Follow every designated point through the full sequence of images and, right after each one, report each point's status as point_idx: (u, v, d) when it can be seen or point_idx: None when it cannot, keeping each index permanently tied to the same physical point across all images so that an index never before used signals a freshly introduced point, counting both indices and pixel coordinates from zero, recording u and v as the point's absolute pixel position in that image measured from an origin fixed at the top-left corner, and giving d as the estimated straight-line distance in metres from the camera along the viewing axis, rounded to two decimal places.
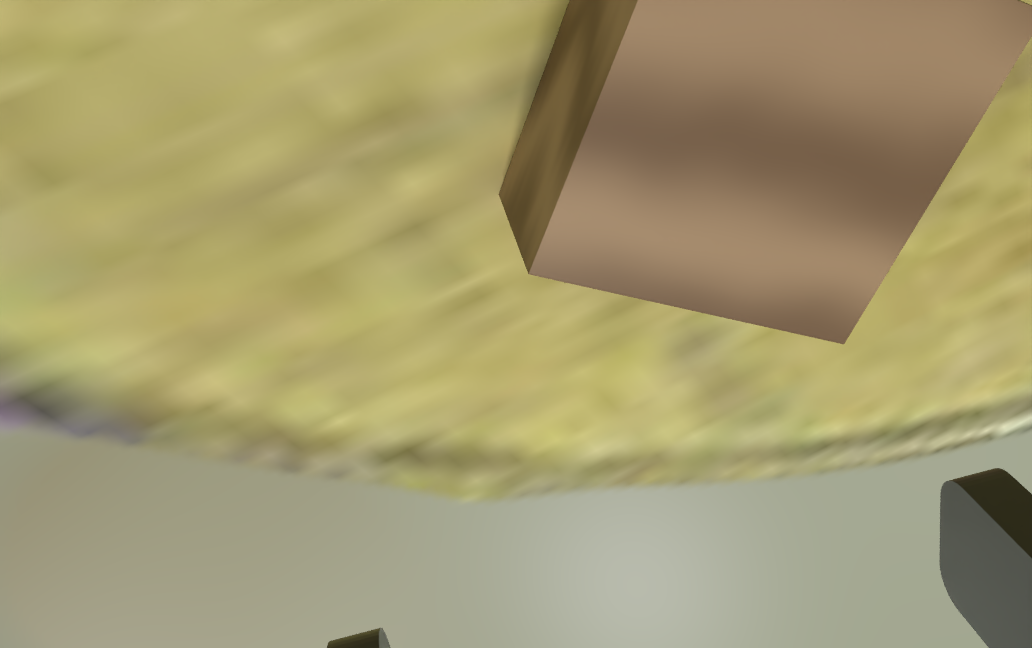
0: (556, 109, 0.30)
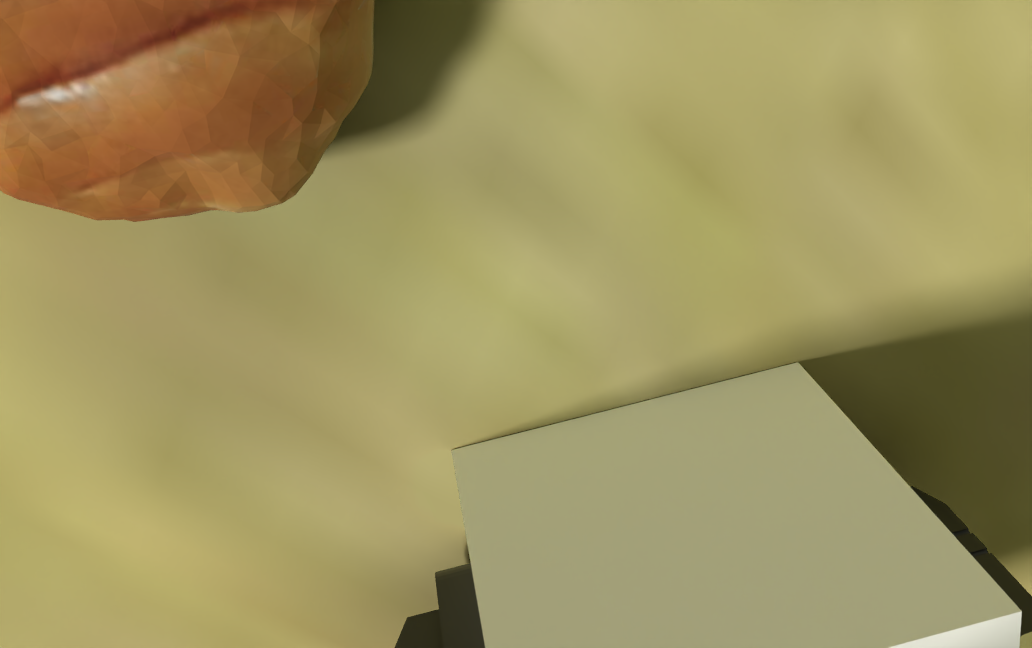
0: None
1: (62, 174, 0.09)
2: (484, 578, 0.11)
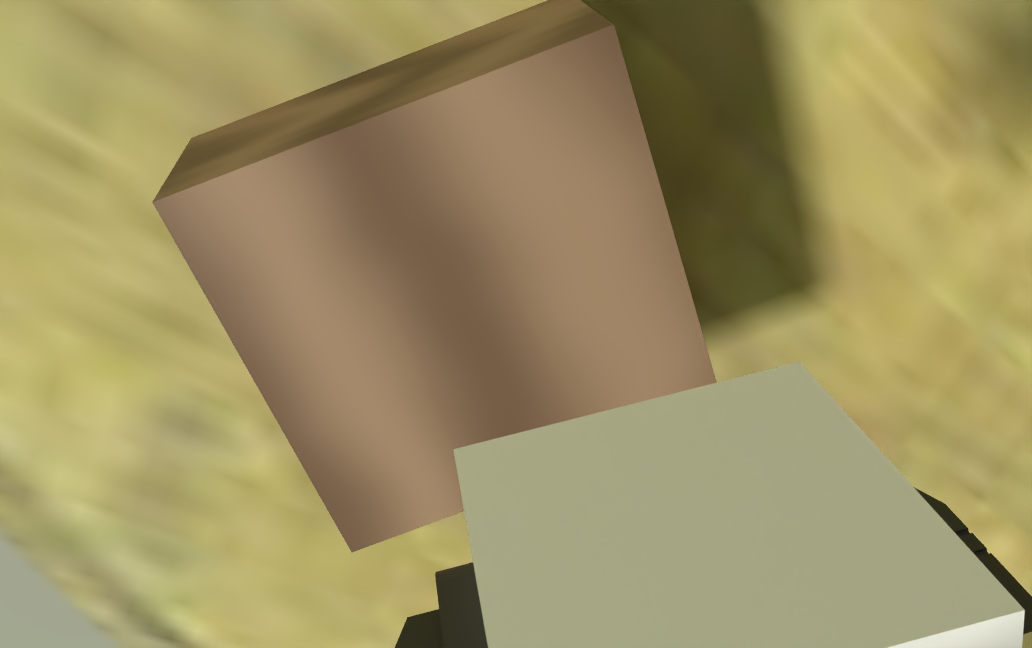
0: (322, 107, 0.26)
1: None
2: (487, 577, 0.11)
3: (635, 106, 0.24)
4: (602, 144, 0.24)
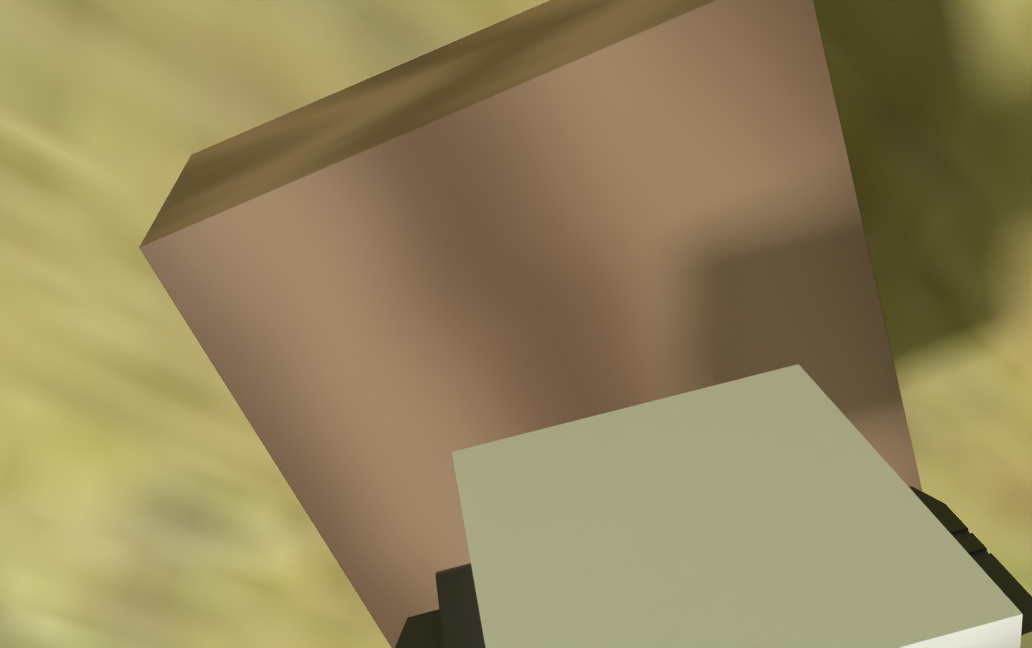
0: (372, 104, 0.19)
1: None
2: (485, 579, 0.11)
3: (828, 82, 0.17)
4: (779, 139, 0.17)
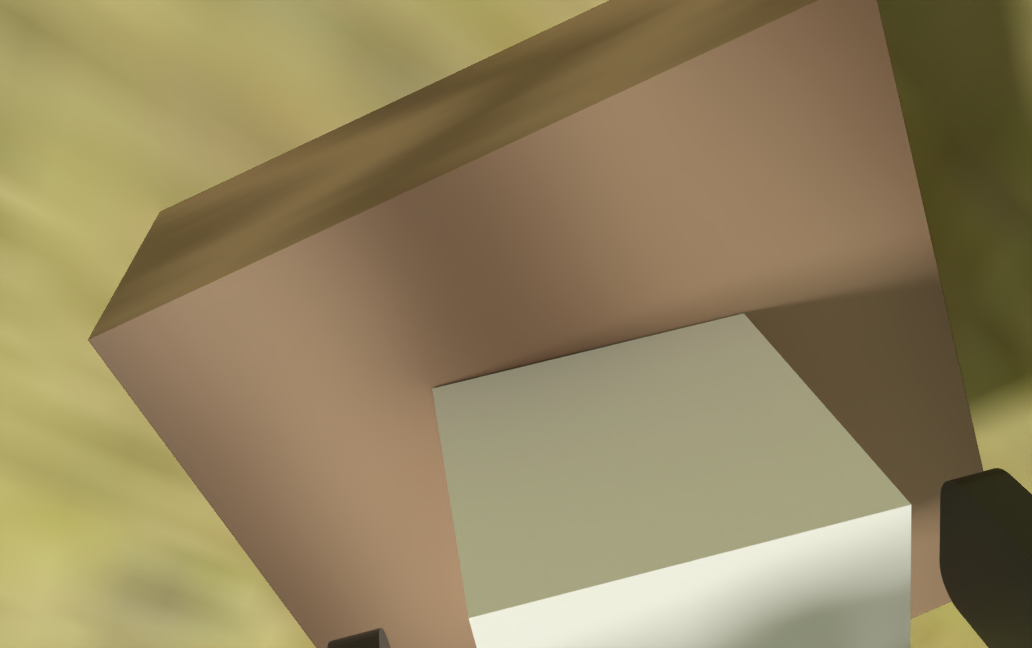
0: (361, 152, 0.16)
1: None
2: (457, 487, 0.12)
3: (899, 116, 0.14)
4: (841, 184, 0.14)
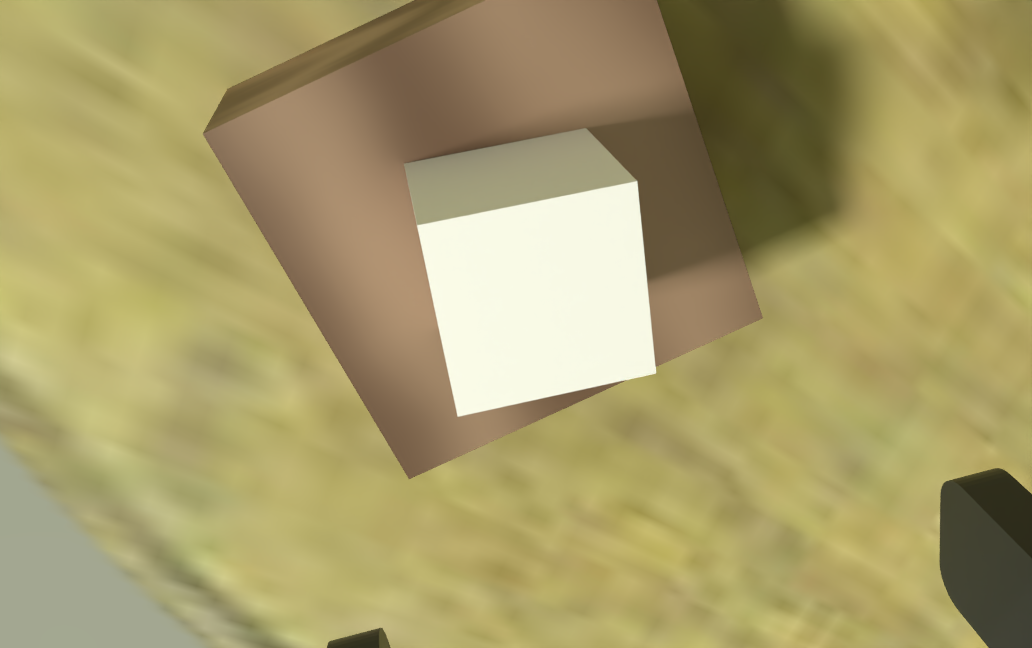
0: (355, 42, 0.27)
1: None
2: (415, 192, 0.23)
3: (658, 11, 0.25)
4: (628, 51, 0.25)
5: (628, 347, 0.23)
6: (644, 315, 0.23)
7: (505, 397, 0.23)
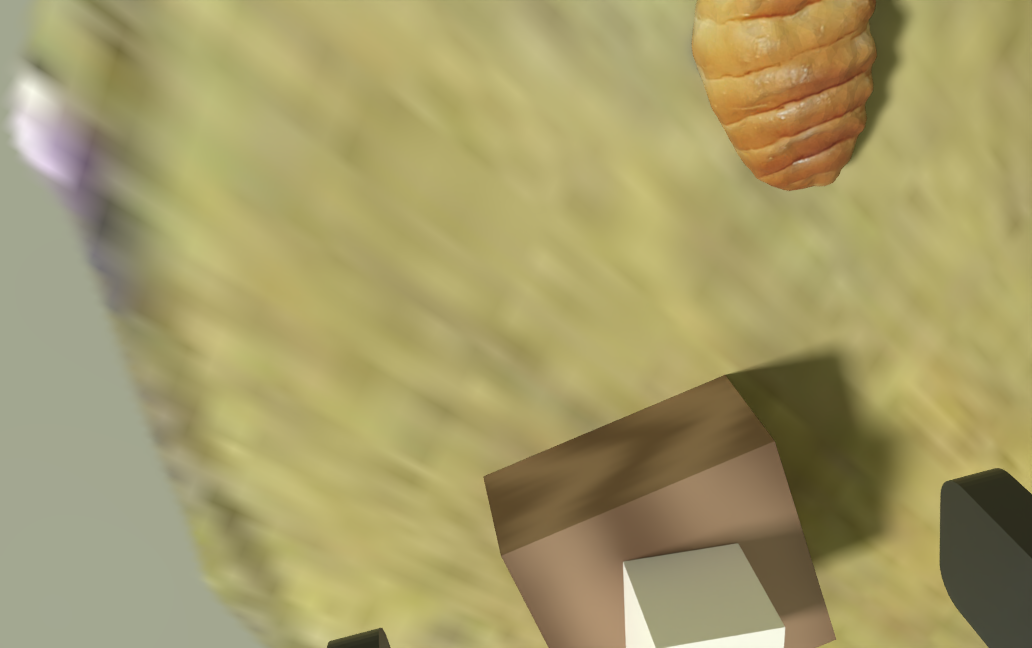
0: (582, 471, 0.41)
1: (791, 179, 0.38)
2: (642, 605, 0.37)
3: (785, 480, 0.39)
4: (765, 501, 0.40)
5: None
6: None
7: None
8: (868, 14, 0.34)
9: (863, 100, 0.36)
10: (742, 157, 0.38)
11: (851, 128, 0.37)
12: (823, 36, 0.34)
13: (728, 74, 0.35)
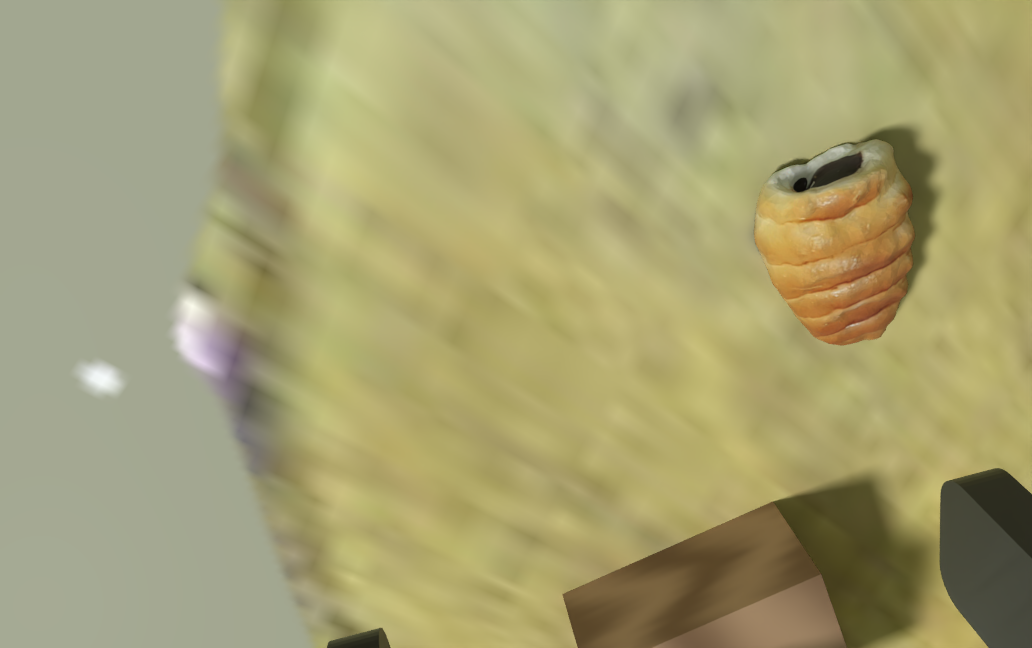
0: (651, 594, 0.47)
1: (844, 338, 0.43)
2: None
3: (830, 604, 0.45)
4: (813, 622, 0.46)
5: None
6: None
7: None
8: (907, 208, 0.40)
9: (905, 273, 0.42)
10: (800, 319, 0.44)
11: (895, 296, 0.42)
12: (869, 232, 0.40)
13: (788, 262, 0.41)
